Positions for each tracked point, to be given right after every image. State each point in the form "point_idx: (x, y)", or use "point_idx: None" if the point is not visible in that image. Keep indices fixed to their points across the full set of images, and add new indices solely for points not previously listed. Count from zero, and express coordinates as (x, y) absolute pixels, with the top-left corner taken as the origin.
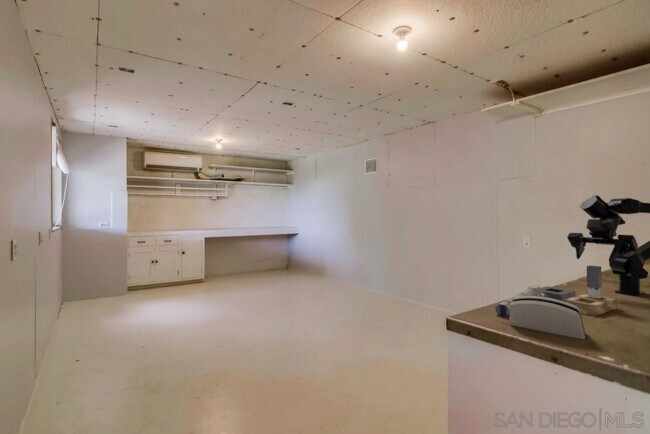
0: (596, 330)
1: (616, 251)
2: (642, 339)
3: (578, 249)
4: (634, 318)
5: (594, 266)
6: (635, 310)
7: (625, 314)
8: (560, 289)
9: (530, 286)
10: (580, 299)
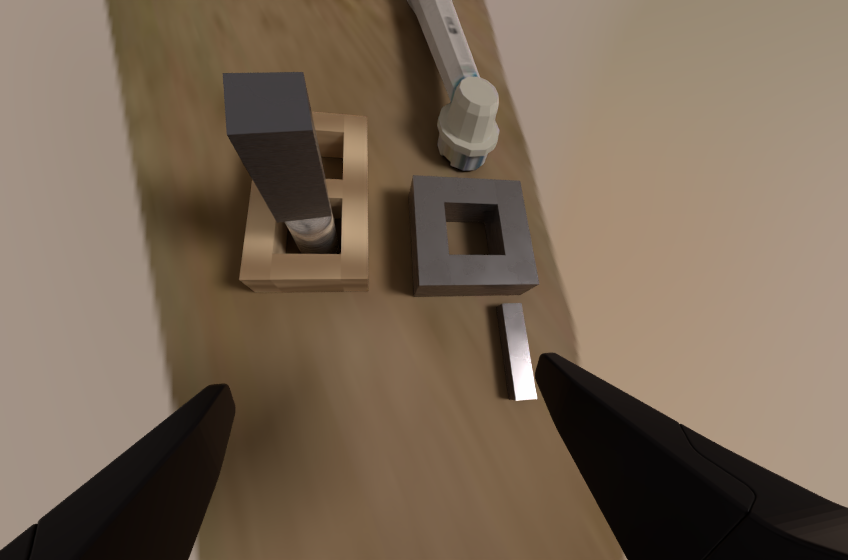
0: (221, 26)
1: (9, 550)
2: (114, 30)
3: (642, 424)
4: (170, 203)
5: (262, 98)
6: (193, 325)
7: (207, 231)
8: (472, 265)
9: (485, 85)
10: (343, 179)
